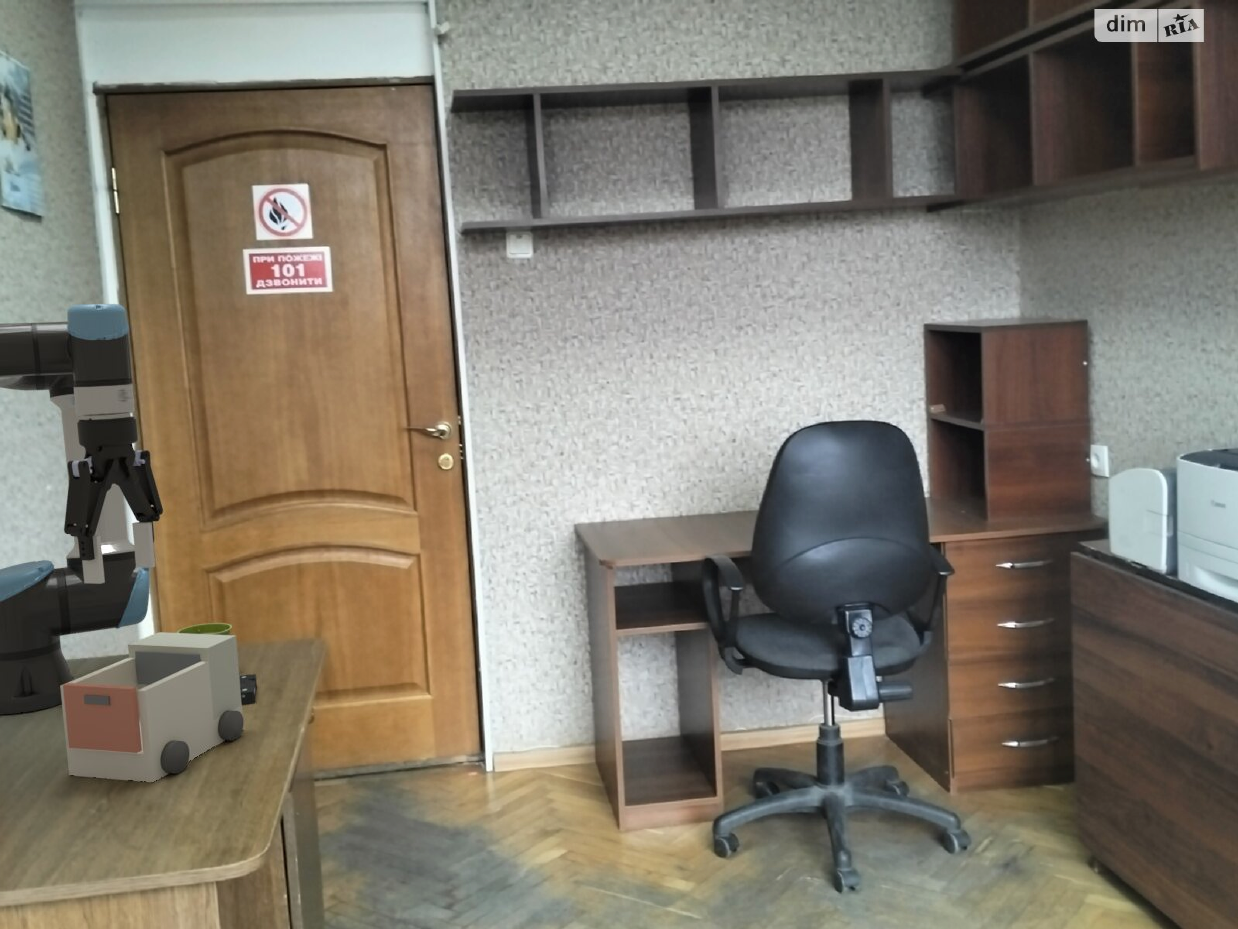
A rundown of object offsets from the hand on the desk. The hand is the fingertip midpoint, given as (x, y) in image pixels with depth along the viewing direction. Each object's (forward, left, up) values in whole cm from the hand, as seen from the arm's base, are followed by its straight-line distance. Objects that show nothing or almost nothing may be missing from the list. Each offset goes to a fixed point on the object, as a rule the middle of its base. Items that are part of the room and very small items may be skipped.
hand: (120, 574), depth 161 cm
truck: (0, +5, -28) cm, 28 cm away
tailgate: (0, -6, -24) cm, 24 cm away
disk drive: (-8, +28, -28) cm, 41 cm away
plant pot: (-17, +40, -28) cm, 52 cm away
